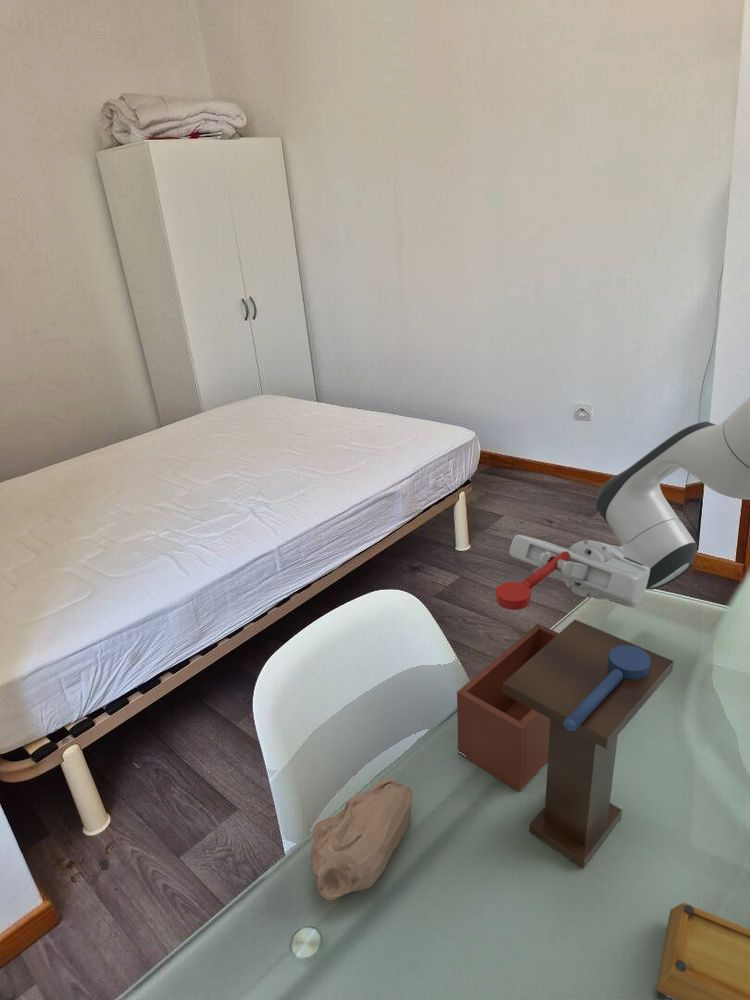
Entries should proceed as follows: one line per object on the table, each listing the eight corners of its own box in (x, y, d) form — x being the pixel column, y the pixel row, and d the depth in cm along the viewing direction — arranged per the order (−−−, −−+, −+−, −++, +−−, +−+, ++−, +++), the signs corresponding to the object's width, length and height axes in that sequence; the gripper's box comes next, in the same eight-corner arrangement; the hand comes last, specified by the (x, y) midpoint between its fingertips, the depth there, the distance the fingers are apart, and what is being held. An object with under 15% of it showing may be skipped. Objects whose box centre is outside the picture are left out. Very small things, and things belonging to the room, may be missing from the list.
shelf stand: (564, 764, 101) (574, 619, 89) (650, 814, 92) (674, 661, 81) (499, 836, 91) (502, 683, 79) (589, 899, 82) (607, 738, 71)
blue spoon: (586, 744, 70) (587, 733, 70) (547, 722, 73) (548, 712, 73) (656, 665, 80) (657, 655, 80) (619, 649, 83) (620, 639, 83)
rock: (367, 870, 77) (291, 830, 80) (353, 935, 80) (280, 894, 83) (423, 777, 93) (358, 748, 97) (410, 834, 96) (347, 804, 100)
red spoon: (553, 553, 101) (553, 545, 101) (581, 563, 98) (582, 554, 98) (488, 601, 91) (488, 592, 91) (517, 614, 88) (517, 605, 88)
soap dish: (674, 888, 78) (669, 916, 80) (659, 969, 70) (653, 998, 72) (802, 940, 72) (792, 968, 74) (800, 1034, 64) (789, 1063, 66)
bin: (535, 680, 117) (537, 623, 112) (594, 711, 110) (600, 651, 104) (457, 753, 104) (456, 691, 99) (519, 792, 97) (521, 728, 91)
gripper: (540, 530, 114) (498, 520, 103) (661, 571, 100) (627, 565, 90) (528, 566, 114) (485, 560, 104) (647, 612, 101) (611, 611, 90)
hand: (552, 563), depth 97 cm, fingers closed on red spoon, 1 cm apart
